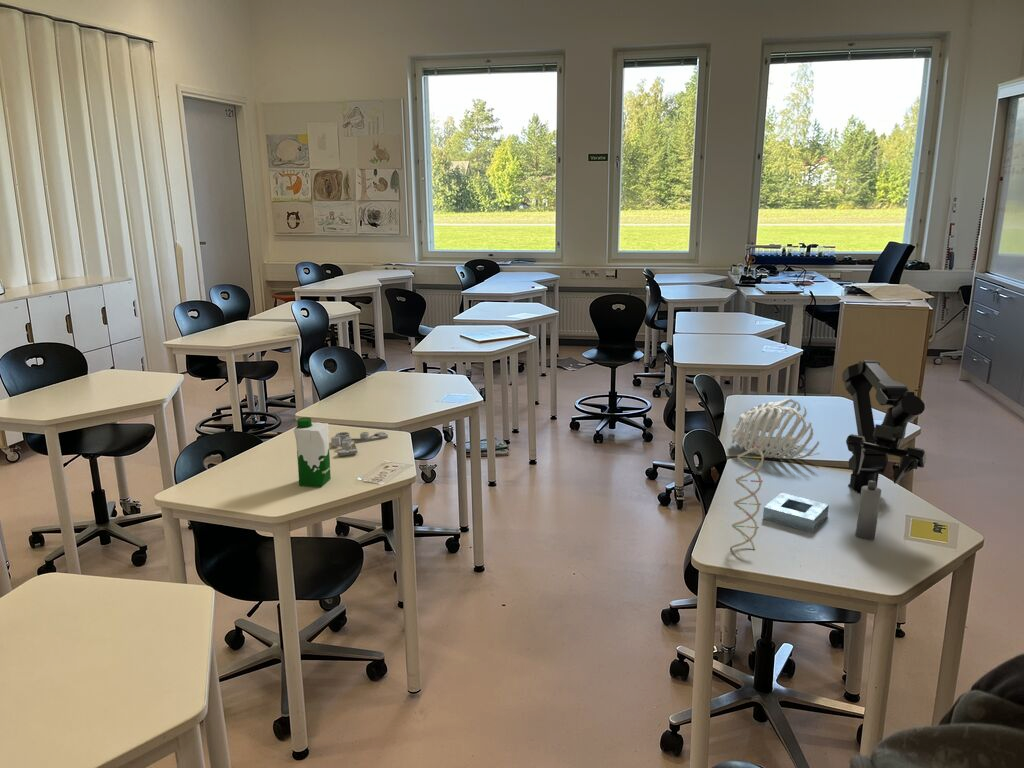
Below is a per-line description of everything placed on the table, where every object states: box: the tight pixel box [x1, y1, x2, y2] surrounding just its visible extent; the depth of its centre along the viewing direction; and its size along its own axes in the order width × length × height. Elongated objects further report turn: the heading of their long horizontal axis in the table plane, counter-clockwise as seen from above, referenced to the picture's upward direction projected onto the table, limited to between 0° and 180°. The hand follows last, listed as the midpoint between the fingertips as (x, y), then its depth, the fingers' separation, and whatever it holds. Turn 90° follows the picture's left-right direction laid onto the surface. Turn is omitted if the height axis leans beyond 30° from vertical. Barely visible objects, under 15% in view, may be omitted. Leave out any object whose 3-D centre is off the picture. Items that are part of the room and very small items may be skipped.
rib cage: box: [730, 398, 820, 460], centre depth 248 cm, size 26×18×28 cm
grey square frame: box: [762, 492, 830, 534], centre depth 197 cm, size 13×13×4 cm
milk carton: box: [293, 417, 331, 488], centre depth 219 cm, size 9×9×20 cm
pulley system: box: [330, 431, 389, 457], centre depth 256 cm, size 27×5×15 cm
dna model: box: [729, 433, 767, 550], centre depth 176 cm, size 7×6×30 cm
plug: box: [855, 480, 882, 541], centre depth 185 cm, size 4×4×15 cm
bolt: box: [711, 466, 720, 484], centre depth 228 cm, size 6×5×15 cm
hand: (875, 478), depth 190 cm, fingers open, 9 cm apart
